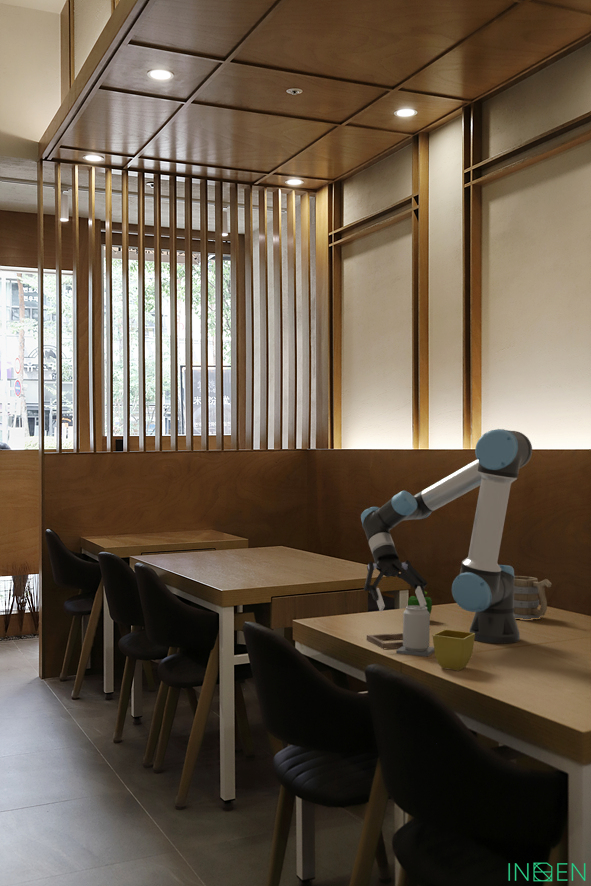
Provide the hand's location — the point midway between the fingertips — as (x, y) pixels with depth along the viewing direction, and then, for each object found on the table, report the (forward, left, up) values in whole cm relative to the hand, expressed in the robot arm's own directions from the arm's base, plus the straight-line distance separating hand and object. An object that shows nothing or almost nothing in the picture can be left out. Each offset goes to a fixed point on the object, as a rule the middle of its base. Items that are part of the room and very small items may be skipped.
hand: (403, 608), depth 245 cm
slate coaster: (-6, +7, -11) cm, 14 cm away
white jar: (-6, +7, -10) cm, 14 cm away
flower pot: (-20, +21, -11) cm, 31 cm away
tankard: (-28, -62, -11) cm, 69 cm away
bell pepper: (+6, -41, -11) cm, 43 cm away
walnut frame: (+3, -1, -11) cm, 11 cm away
